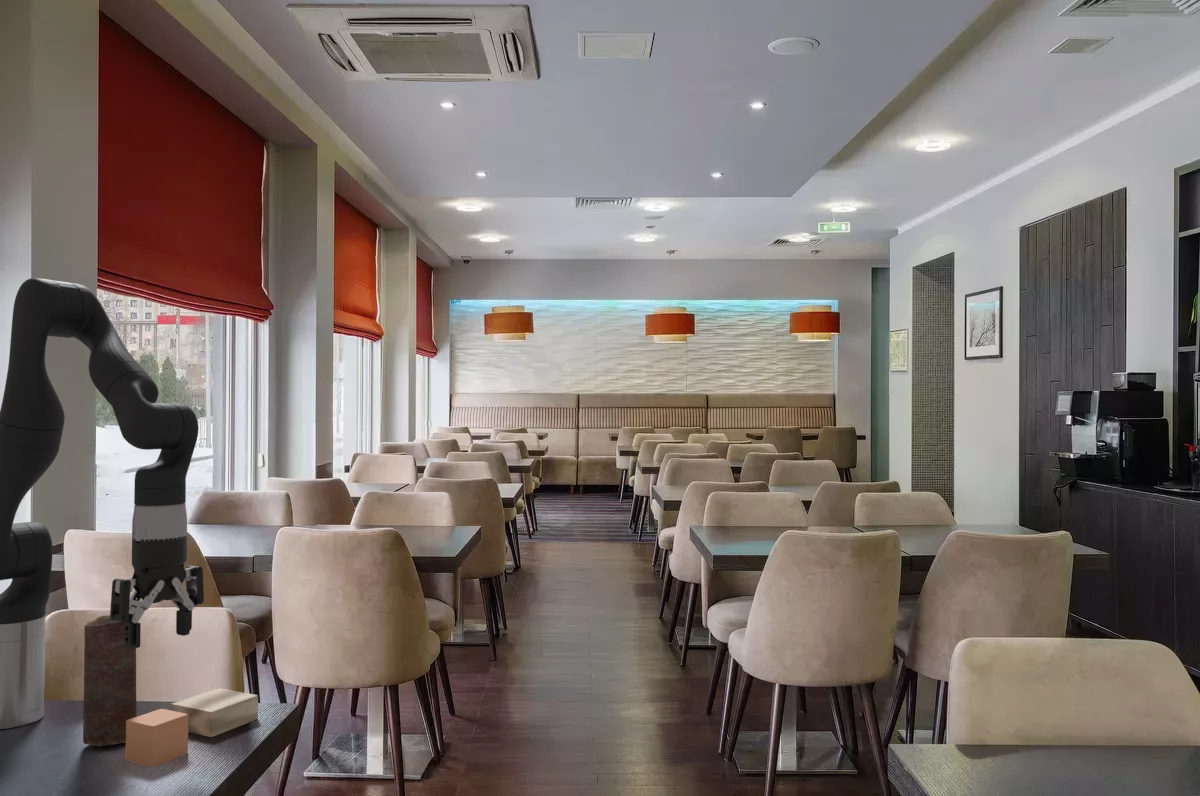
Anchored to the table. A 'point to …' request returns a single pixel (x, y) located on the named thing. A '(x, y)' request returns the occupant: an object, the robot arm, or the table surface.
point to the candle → (107, 683)
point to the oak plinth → (218, 711)
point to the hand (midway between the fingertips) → (158, 641)
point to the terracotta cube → (156, 737)
